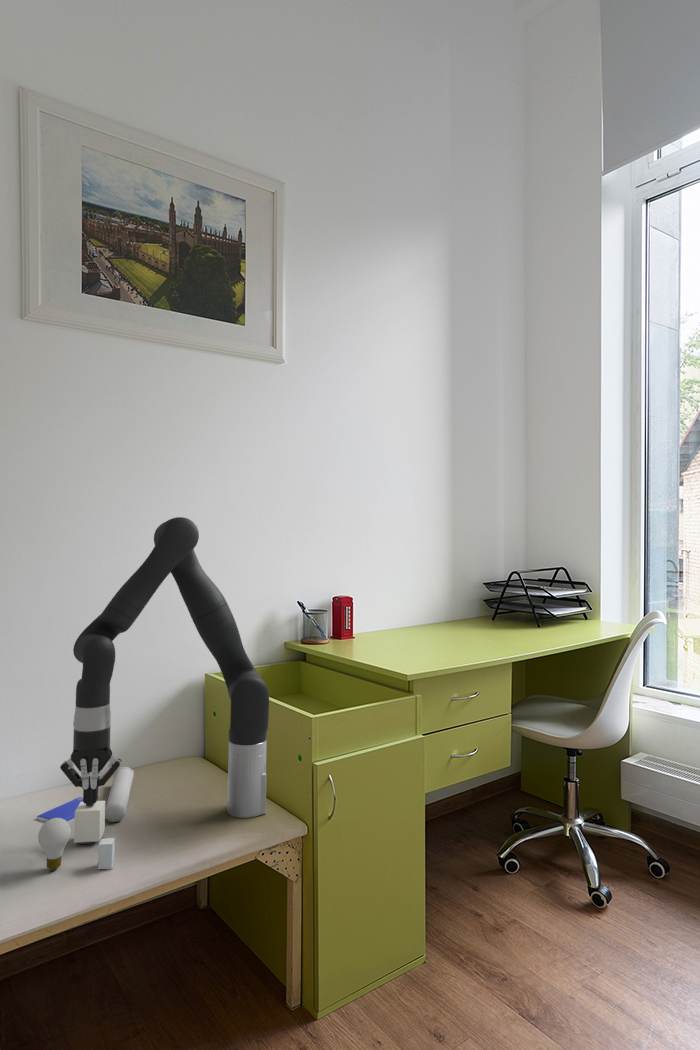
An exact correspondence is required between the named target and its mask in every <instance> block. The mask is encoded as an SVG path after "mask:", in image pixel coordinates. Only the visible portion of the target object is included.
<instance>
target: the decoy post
mask: <svg viewBox="0 0 700 1050" xmlns="http://www.w3.org/2000/svg"><path fill="white" fill-rule="evenodd" d="M98 843H99V844H98V853H97V854H98V857H97V858H98V859H97V862H98V863H97V867H98V868H97V870H98V869H107V870H112V869H113V867H114V865H115V847H116V846H115V843H116V838H115V837H109V838H108V837H107V838H101V839H100V841H99V842H98ZM113 864H114V865H113Z"/></svg>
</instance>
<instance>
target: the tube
mask: <svg viewBox="0 0 700 1050" xmlns="http://www.w3.org/2000/svg"><path fill="white" fill-rule="evenodd" d="M134 780H135V771H134V770H133V769H132V768H130V767H128V766H119V767H118V769H117V770H116V771H115V772H114V773H113V781H112V783H111V787H110V791H109V795H108V797H107V798H108V799H107V802H106V803H105V820H107V821H109V822H110V823H115V822H116V823H117V822H121V821H122V820H123V819H124V817H125V816H126V814H127V808H128V806H129V800H130V794H131V790H132V785H133V781H134Z"/></svg>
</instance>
